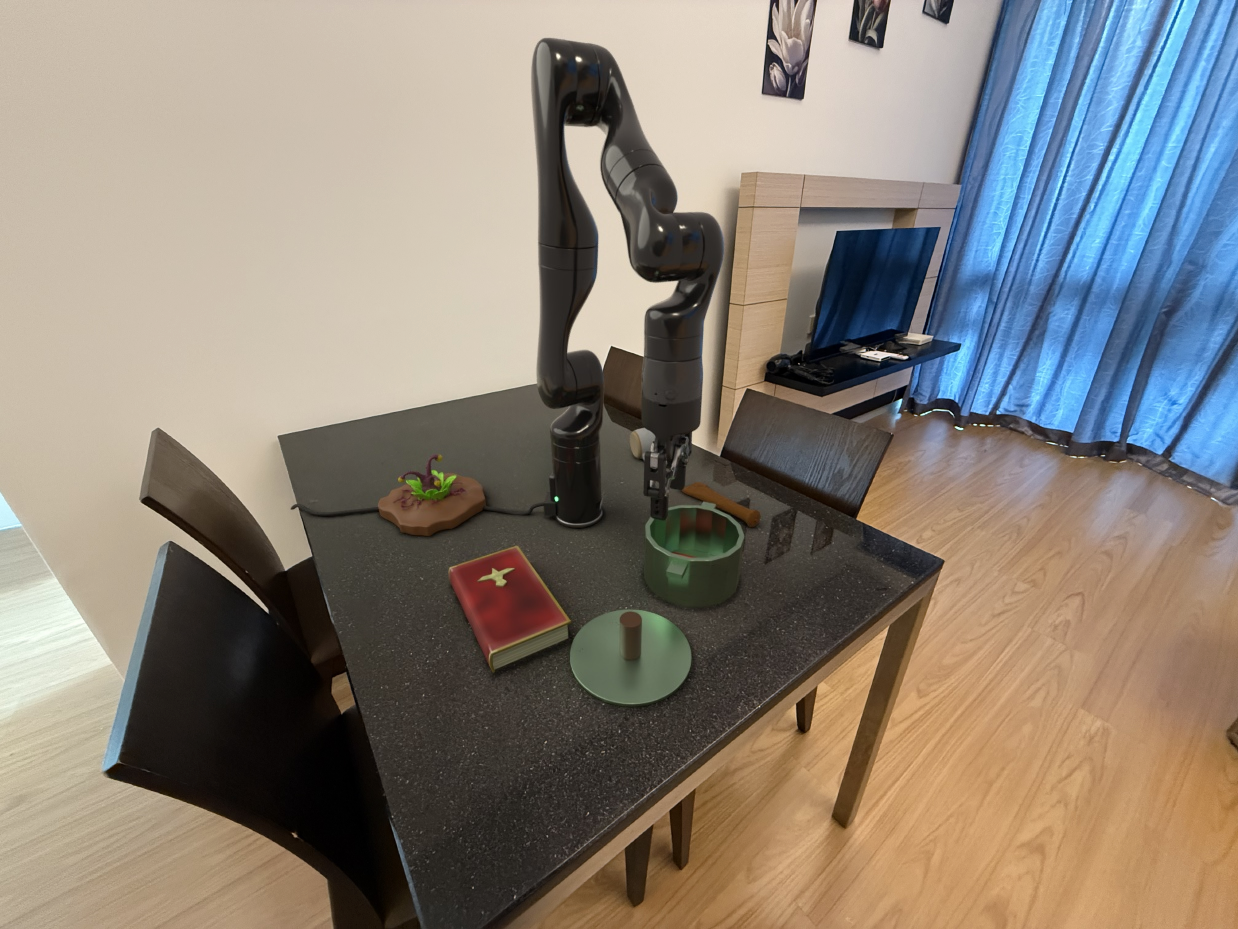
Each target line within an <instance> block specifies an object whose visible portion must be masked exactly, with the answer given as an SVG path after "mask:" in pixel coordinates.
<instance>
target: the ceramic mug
mask: <svg viewBox="0 0 1238 929" xmlns="http://www.w3.org/2000/svg"><path fill="white" fill-rule="evenodd" d="M653 441H655V435H654V434H653V433H652V432H651V431H648V430H647V429H645V428H644V427H642V428H637V429H635V430H633V431H631V433H630V435H629V444H630V450H631V453H632V454H633V456H634V457H635V458H636V459H638V460H641V459H642V460H643V461H644V455H645V452H646V451H651V445H652V442H653Z"/></svg>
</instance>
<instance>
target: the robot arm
mask: <svg viewBox="0 0 1238 929" xmlns="http://www.w3.org/2000/svg"><path fill="white" fill-rule="evenodd" d="M530 94H531V96H530V97H531V108H532V122H533V133H534V146H535V157H536V159H535V160H536V171H537V172H536V174H537V265H538V266H537V267H538V282H539V283H538V284H539V285H538V286H539V289H538V290H539V319H538V320H539V322H538V339H537V351H536V352H537V354H536V368H535V369H536V372H535V374H536V375H535V376H536V377H535V378H536V386H537V387H536V388H537V391H538V395H539V397H540V400H541V402H542V403H543V404H544V405H545V406H546V407H547V409H548V408H549V409H550V410H551V409H552V410H559V409H565V408H567V409H566V410H565V411H563V412H562V414H560V415H559V416H558V417H556V418H554V420H553V421H552V423H551V424H550V427H549V435H550V438H549V439H550V450H551V451H550V452H551V463H552V473H551V474H549V476H548V482H549V485H548V486H549V491H547V492H546V494H545V497H544V500H543V502H537V503H534V504H531V506H530V507H529V509H528V510H526V511H513V510H509V509H504V508H500V507H493V506H487V505H486V506H483V509H484V510H485V511H488V512H489V511H491V512H498V513H503V514H506V515H511V516H527V515H530V514H532V513H533V511H534V509H536V508H539V507H543V514H544V516H550V517H551V519H554V520H556V521H557V522H558V523H559V524H560V525H562V526H564V527H566V528H567V527H568V528H574V529H582V528H587V527H590V526H593V525H595V524H597V523H598V522H600V521H601V520H602V517H603V502H604V496H603V495H602V463H601V429H602V427H603V423H604V403H605V402H604V401H605V400H604V398H605V379H604V378H605V377H604V371H603V366H602V364H601V361H600V359H599V357H598V356H597V355H596V353H595V352H593V351H592V350H589V349H577V350H572V351H568V350H569V349H568V348H569V340H570V337H571V332H572V329H573V327H574V324H575V322H576V320H577V318H578V317H579V314H580V312H581V310H582V309H583V307H584V306H585V303H586V302H587V300H588V299H589V296H590V294H591V292H592V290H593V288H594V286H595V283H596V279H597V275H598V268H599V266H598V264H599V241H600V240H599V239H600V236H599V228H598V225H597V222H596V220H595V217H594V214H593V212H592V211H591V208H590V207H589V205H588V202H587V201H586V199H585V197H584V195H583V194H582V192H581V190H580V188H579V186H578V184H577V182H576V179H575V177H574V174H573V172H572V169H571V165H570V163H569V157H568V152H567V145H566V135H565V133H566V132H565V131H566V130H565V127H573V128H574V127H575V128H598V129H599V130H601V131H602V132H603V134H604V135H605V138H604V142H603V143H602V144H603V145H602V147H601V151H600V155H599V156H600V157H599V172H600V177H601V181H602V183H603V186H604V189H605V190H606V193H607V194H608V196H609V197H610V199H611V201H612V203H613V205H614V206H615V208H616V211H617V212H618V214H619V216H620V218H621V223H622V227H623V232H624V236H625V243H626V249H627V257H628V261H629V264H630V267H631V269H632V270H633V272H634V273H635V274H636V275H637V276H638V277H640V278H641V279H642V280H644V281H646V282H648V283H653V284H659V283H669V282H676V285H675V287H674V290H673V292H672V293H671V295H670V296H669V297H667V298H666V299H664V300H661V301H659V302H656V303H654V304H652V305H650V306H649V307H648V308H647V309H646V310H645V313H644V317H643V362H642V367H641V368H642V369H641V425H642V426H643V428H645V429H647V430H648V431H651V432H652V433H653V434H654V435H655V441H653V442H652V445H651V451H646V452H645V455H644V460H643V463H644V464H643V491H642V493H643V496H644V497H649V498H650V502H649V503H650V509H649V510H650V513H649V515H650V517H652V518H653V519H658V520H663V521H664V520H666V519H667V517H668V508H669V499H670V498H669V497H670V496H669V495H670V490H671V489H672V490H677V491H681V490H683V489H684V488H685V487H686V474H687V472H686V471H687V465H688V463H689V457H691V454H693V448H692V447H693V432H695V431H696V430H698V429H699V427H700V425H701V422H702V420H701V419H702V405H703V404H702V402H703V400H702V399H703V386H704V385H703V384H704V366H703V351H704V350H703V348H704V331H705V330H704V329H705V320H706V316H707V313H708V311H709V306H710V304H711V301H712V297H713V294H714V291H715V287H716V285H717V282H718V278H719V276H720V273H721V272H720V271H721V268H722V264H723V261H724V256H725V240H724V234H723V229H722V228H721V225H720V223H719V222H718V220H717V219H716V217H715V216H713V215H712V214H710V213H708V212H706V211H705V212H704V211H681V212H680V211H679V212H678V211H677V212H675V211H676V208H677V205H678V198H679V196H678V190H677V186H676V185H675V182H674V180H673V178H672V177H671V175H670V174H669V172H668V170H667V169H666V167H665V166H664V164H663V163H662V160H661V159H660V158H659V156H658V155H657V153H656V152H655V150H654V149H653V147H652V144H650V142H649V141H648V138H647V136H646V134H645V132H644V130H643V127H642V124H641V123H640V122H641V121H640V119H639V116H638V113H637V111H636V108H635V105H634V102H633V99H632V97H631V94H630V92H629V89H628V86H627V84H626V81H625V78H624V76H623V73H622V71H621V69H620V66H619V64H618V62H617V60H616V58H615V57H614V55H613V54H612V53H611V51H609V50H608V48H606V47H604V46H602V45H599V44H596V43H592V42H591V43H590V42H581V41H575V40H568V39H565V38H564V39H563V38H555V37H543V38H541V39H540V40H538V41H537V43H536V45H535V47H534V50H533V54H532V58H531V66H530ZM667 469H668V470H667ZM656 483H658V485H657V484H656ZM299 505H300V506H299ZM297 508H299V509H301V510H303V511H304V512H306V513H308V514H310V515H312V516H317V517H318V516H319V517H330V516H331V517H332V516H333V517H334V516H341V515H350V514H360V513H369V512H376V511H379V509H378V506H373V507H365V508H357V509H347V510H346V509H345V510H339V511H317V510H316V511H314V510H313V509H310V508H309V507H307V506H306V505H304V504H301V503H295V504H293V505H292V506H291V507H290V510H291V511H293V510H296V509H297Z"/></svg>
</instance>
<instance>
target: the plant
mask: <svg viewBox="0 0 1238 929" xmlns="http://www.w3.org/2000/svg"><path fill="white" fill-rule="evenodd" d="M443 459H444V457H443V456H442V455H441V454H438V453H436V454H433V455H430V457H429V458H428V460H427V463H426V467H425V472H426V473H425V474H422V473H421V472H420V471H415V470H410V471H409V470H408V471H407V472H405V473H403V474H401V475H400V476H399V477H398V479H397V480H398V483H400V484H403V483H404V482H406V483H404V484H403V485H402V486H400V487H397V488H392V489H391V490H390V492H389V494H388V495H386V496H384V497H381V498H379V500H378V503H377V507H378V509H379V510H378V513H379V515H380V517H381V518H383V519H384V520H386V521H388V522H391V523H393V524H394V526H396V527H397V528H398V529H399V531H400V532H401V533H402V534H408V535H412V536H425V537H431V536H432V535H434V534H435V533H437V532H440V531H445V530H452V529H455V528H456V527H458V526H460V525H461V524H463V523H464V522H466V521H468V520H469V519H470V518H472V517H473V516H475V515H477V514H479V513H480V512H482V511H483V510H484V509H483V506H487V502H486V501H487V500H486V497H485V489H484V487H483V485H482V484H481V483H480V482H478V481H477V480H475V479H474V478H473V477H468V476H462V475H460V474H457V473H454V472H446V473H444V472H443V471H440V472H438V471H437V470H435V469H433V470H432V461H433V460H434V461H435V462H437V463H439V462H442V461H443ZM408 475H414V476H415V477H416V478H417V480H416V479H406V476H408Z"/></svg>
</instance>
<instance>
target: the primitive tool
mask: <svg viewBox="0 0 1238 929" xmlns="http://www.w3.org/2000/svg"><path fill="white" fill-rule="evenodd" d="M680 491H681V492H682V493H683V494H685V495H688V496H689V497H693V498H695V499H698V500H700V501H701V502H708V503H713V504H716V509H718V510H720V511H722V512H724V513H725V512H726V513H727V514H729V515H732V516H734V517H736V518H738V519H739V520H742V521H744V523H746V525H747V526H748V527H750V528H755V527H756V526H757V525H758V524H759V523H760V520H761V516H762V515H761V511H759V509H751V508H748V507H745V506H744V505H742V504H739V503H737V502H736V501H733V500H732V499H730V498H728V497H726V496H724V495H722V494H720V493H719V492H717V491H715V490H713V489H712V488H710V487H709V486H708V485H707V484H705V483H704V482H703V483H702V482H698V481H697V482H696V481H695V482H694V483H692V484H690V485H687V486H685V487H684V489H683V490H680Z"/></svg>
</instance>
